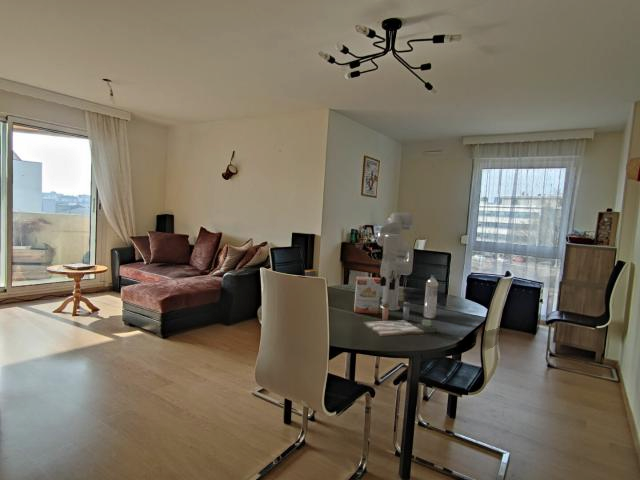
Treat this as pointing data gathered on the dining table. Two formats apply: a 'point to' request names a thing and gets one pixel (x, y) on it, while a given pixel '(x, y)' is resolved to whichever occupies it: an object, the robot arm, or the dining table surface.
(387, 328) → the worksheet
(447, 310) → the dining table surface
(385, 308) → the marker terracotta
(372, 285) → the cracker box
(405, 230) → the robot arm
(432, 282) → the water bottle
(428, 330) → the button housing
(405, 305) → the slate
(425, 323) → the button
